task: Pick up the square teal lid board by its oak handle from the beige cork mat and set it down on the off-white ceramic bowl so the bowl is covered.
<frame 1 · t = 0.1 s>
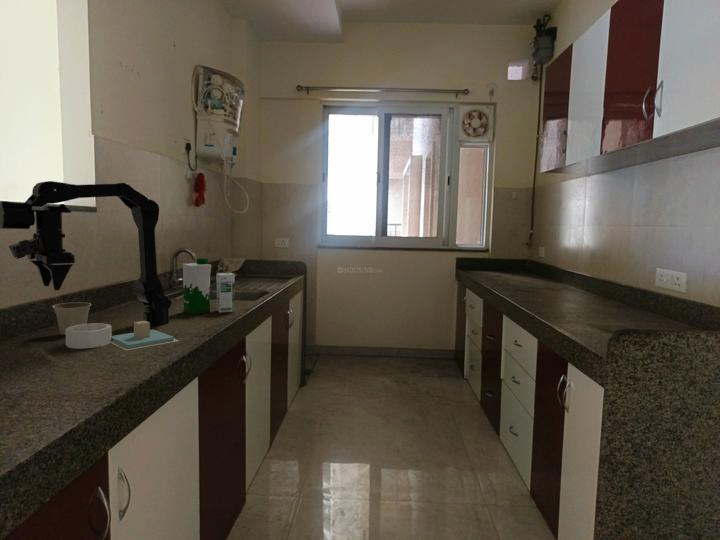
hand: (51, 288, 120), 15 cm above the counter, tool pointing down, fingers open, 9 cm apart
syrup box: (225, 311, 170), on the counter
milk carton: (196, 312, 167), on the counter
bowl: (89, 346, 118), on the counter
lid: (142, 340, 122), point 1 cm above the counter, touching mat
mat: (142, 343, 122), on the counter
flower pot: (73, 335, 129), on the counter
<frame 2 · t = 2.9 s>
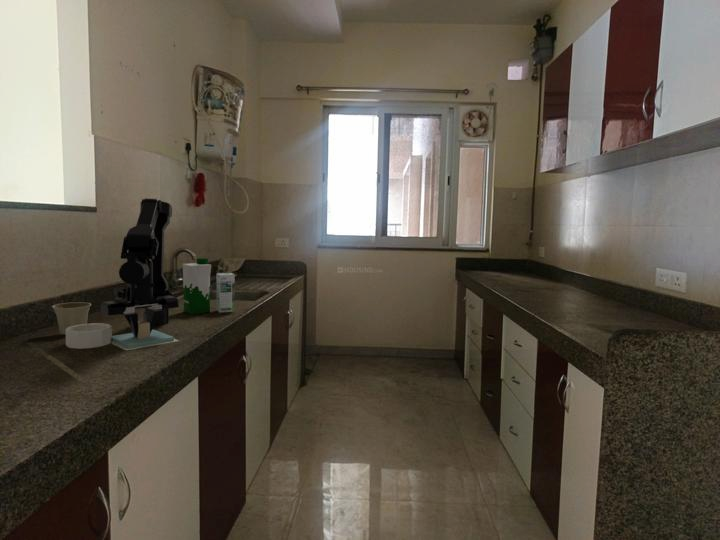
hand: (141, 335, 122), 2 cm above the counter, tool pointing down, fingers closed on lid, 3 cm apart
lid: (142, 340, 122), point 1 cm above the counter, touching gripper, mat
everything else where it was.
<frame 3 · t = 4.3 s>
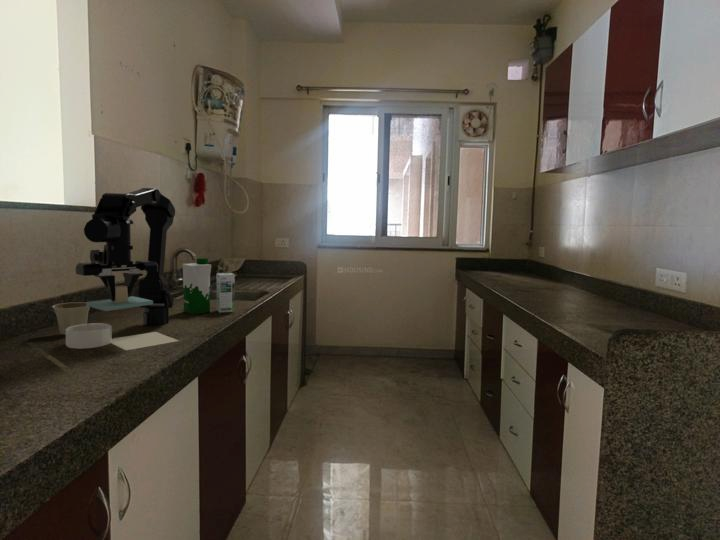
hand: (119, 300, 119), 12 cm above the counter, tool pointing down, fingers closed on lid, 3 cm apart
lid: (120, 305, 119), point 11 cm above the counter, touching gripper
everything else where it was.
when the fingers open (7 cm above the counter, at t = 5.8 s): lid drops 1 cm, resting on bowl.
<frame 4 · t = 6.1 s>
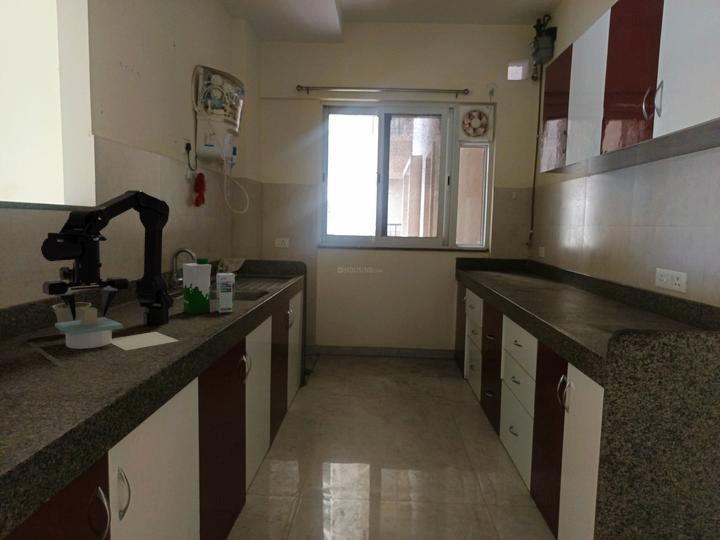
hand: (88, 318, 117), 7 cm above the counter, tool pointing down, fingers open, 7 cm apart
lid: (89, 327, 117), point 5 cm above the counter, touching bowl
everything else where it was.
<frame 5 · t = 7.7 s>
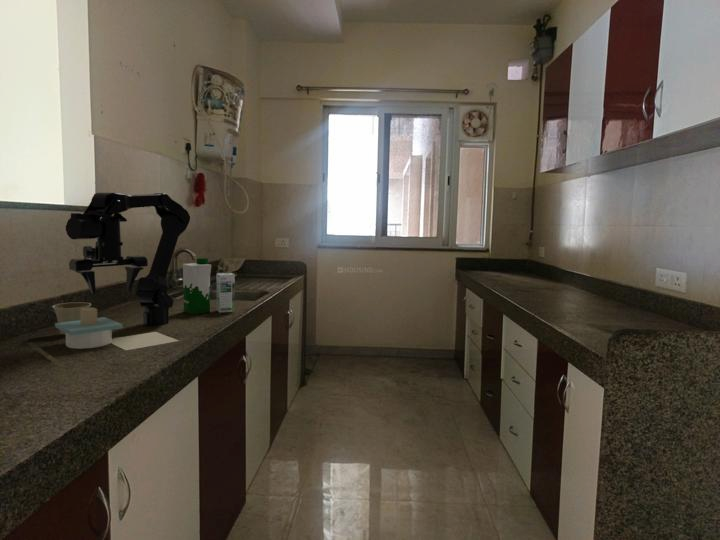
hand: (111, 293, 127), 13 cm above the counter, tool pointing down, fingers open, 9 cm apart
nothing on the counter moved.
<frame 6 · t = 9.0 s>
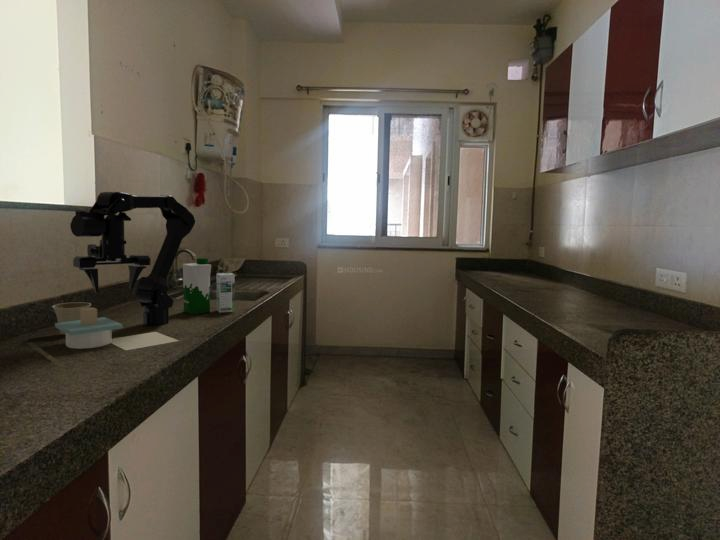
hand: (114, 291, 128), 13 cm above the counter, tool pointing down, fingers open, 9 cm apart
nothing on the counter moved.
at the end: lid 0.1 cm off-centre on the bowl, point 5.0 cm above the bowl's base; lid tilted 0°; the gripper is holding nothing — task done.
